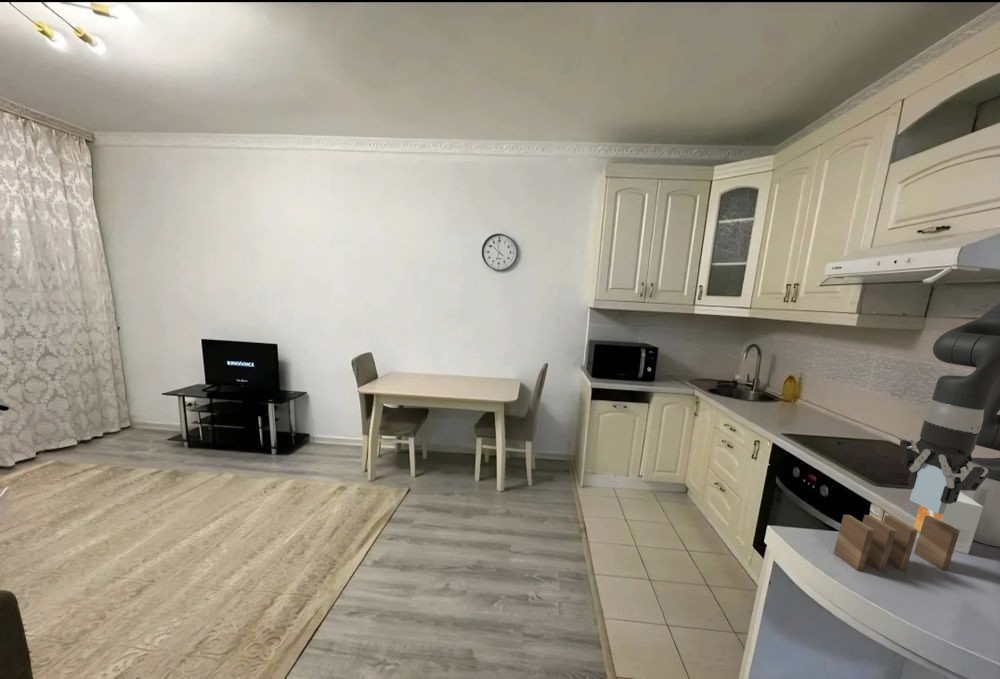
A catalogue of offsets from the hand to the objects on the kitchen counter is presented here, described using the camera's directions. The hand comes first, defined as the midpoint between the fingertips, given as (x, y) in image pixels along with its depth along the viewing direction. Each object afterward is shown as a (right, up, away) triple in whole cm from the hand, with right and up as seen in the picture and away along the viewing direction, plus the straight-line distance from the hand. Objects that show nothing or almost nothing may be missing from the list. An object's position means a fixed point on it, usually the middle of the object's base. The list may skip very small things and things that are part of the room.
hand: (930, 494), depth 79 cm
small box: (+17, -17, +12) cm, 26 cm away
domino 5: (+4, -17, +3) cm, 18 cm away
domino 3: (-7, -16, +2) cm, 18 cm away
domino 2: (-12, -16, +1) cm, 20 cm away
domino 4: (0, -3, 0) cm, 3 cm away
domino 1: (-18, -16, +1) cm, 24 cm away
